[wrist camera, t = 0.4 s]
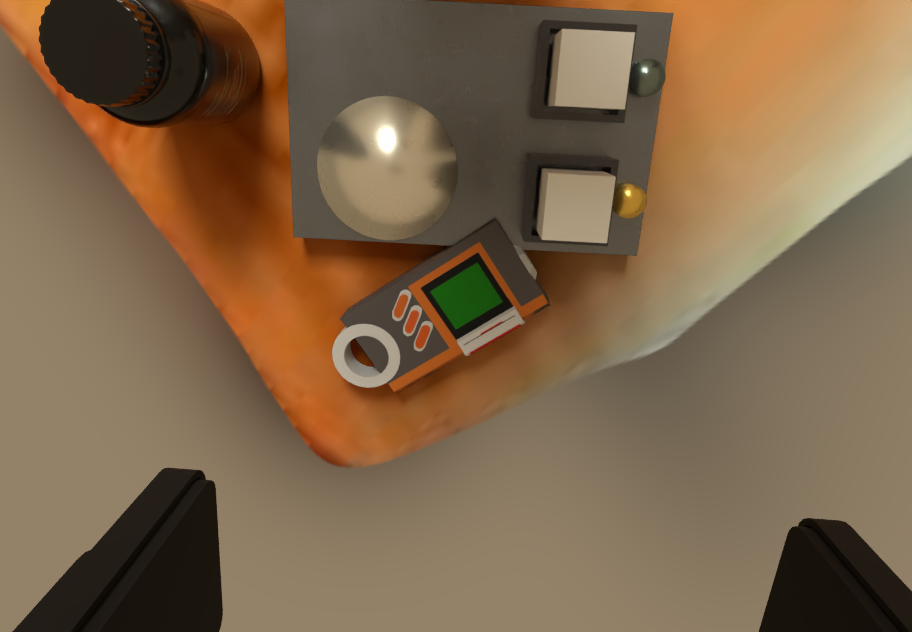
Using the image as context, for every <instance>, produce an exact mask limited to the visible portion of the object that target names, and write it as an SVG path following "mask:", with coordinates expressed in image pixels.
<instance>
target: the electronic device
mask: <svg viewBox="0 0 912 632" xmlns="http://www.w3.org/2000/svg"><path fill="white" fill-rule="evenodd" d="M536 275H537V271H536V269H535V267H534V266H533V264H532V262H531V261H530V259H529V257H528V256H527V254H526V253H525V251H524V250H523V249H522V248H521V247H519V246H515V245H513V244H512V243H511V241H510V240H509V238H508V236H507V235H506V233H505V232H504V230H503V229H502V227H501V225H500V224H499V222H498V221H497V219H495V220H494V221H492V222H491V223H489V224H487V225H486V226H484V227H483V228H481V229H480V230H478V231H476V232H475V233H473V234H472V235H470V236H469V237H467V238H465V239H464V240H462V241H461V242H459V243H458V244H456V245H454V246H446V247H445V248H443V249H442V250H440V251H439V252H437V253H435V254H434V255H432V256H431V257H429V258H427V259H426V260H424V261H423V262H421V263H420V264H418V265H416V266H415V267H413V268H412V269H410V270H408V271H407V272H405V273H404V274H402V275H401V276H399V277H397V278H396V279H394V280H393V281H391V282H389V283H388V284H386V285H385V286H383V287H382V288H380V289H378V290H377V291H375V292H374V293H372V294H370V295H369V296H367V297H366V298H364V299H363V300H361V301H359V302H358V303H356V304H355V305H353V306H351V307H350V308H348V309H347V311H346V312H345V313H344V314H343V316H342V317H341V318H340V319H341V320H342V322H343V323H344V325H345V327H344V328H343V330H342V331H341V333H340V334H339V335H338V337H337V338H336V340H335V342H334V345H333V349H332V357H333V362H334V365H335V367H336V369H337V371H338V372H339V373H340V375H341V376H342V377H343V378H344V379H346V380H347V381H348V382H350V383H352V384H354V385H357V386H360V387H366V388H370V387H377V386H381V385H383V384H385V383H388V385H389V386H390V387H391V389H392V390H393V391H394V392H395V393H398V392H400V391H402V390H403V389H405V388H407V387H409V386H410V385H412V384H414V383H416V382H417V381H419V380H421V379H422V378H424V377H426V376H428V375H429V374H431V373H433V372H435V371H436V370H438V369H440V368H442V367H443V366H445V365H447V364H449V363H450V362H452V361H454V360H455V359H457V358H459V357H461V356H462V355H464V354H465V355H466V356H469V355H471V354H473V353H474V352H476V351H478V350H480V349H481V348H483V347H485V346H487V345H488V344H490V343H492V342H493V341H495V340H497V339H499V338H500V337H502V336H504V335H506V334H507V333H509V332H511V331H513V330H514V329H516V328H518V327H520V326H521V325H523V324H525V319H527V318H528V317H530V316H532V315H534V314H535V313H537V312H539V311H540V310H542V309H544V308H546V307H547V306H549V305H550V303H549V299H548V296H547V295H546V293H545V291H544V290H543V288H542V287H541V285H540V283H539V282H538V280H537V279H536ZM354 338H355V340H356V341H357V342H358V344H359V345H360V346H361V348H362V349H363V350H364V352H365V353H366V355H367V356H368V357H369V359H370V360H371V361H372V363H373V364H374V365H375V367H370V366H366V365H363V364H361V363H360V362H359V361H357V360H356V358H355V357H354V356H353V354H352V351H351V347H350V345H351V340H352V339H354Z"/></svg>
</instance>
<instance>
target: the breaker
mask: <svg viewBox="0 0 912 632" xmlns="http://www.w3.org/2000/svg"><path fill="white" fill-rule="evenodd" d="M634 37H635V32H617V31H598V30H579V29H561V30H560V31H559V32H558V33H557V34H556V35H555V36H553V44H552V54H551V65H550V76H549V86H548V97H547V106H555V107H574V108H593V109H625V104H626V97H627V89H628V82H629V74H630V67H631V59H632V52H633V44H634Z"/></svg>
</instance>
